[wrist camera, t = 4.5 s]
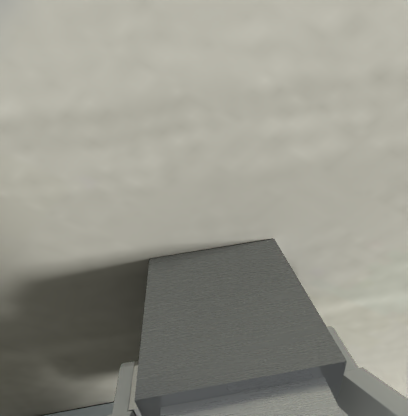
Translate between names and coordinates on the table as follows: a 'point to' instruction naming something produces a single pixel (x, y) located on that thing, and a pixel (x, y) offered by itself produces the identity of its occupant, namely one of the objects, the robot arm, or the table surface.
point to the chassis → (88, 411)
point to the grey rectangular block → (234, 338)
